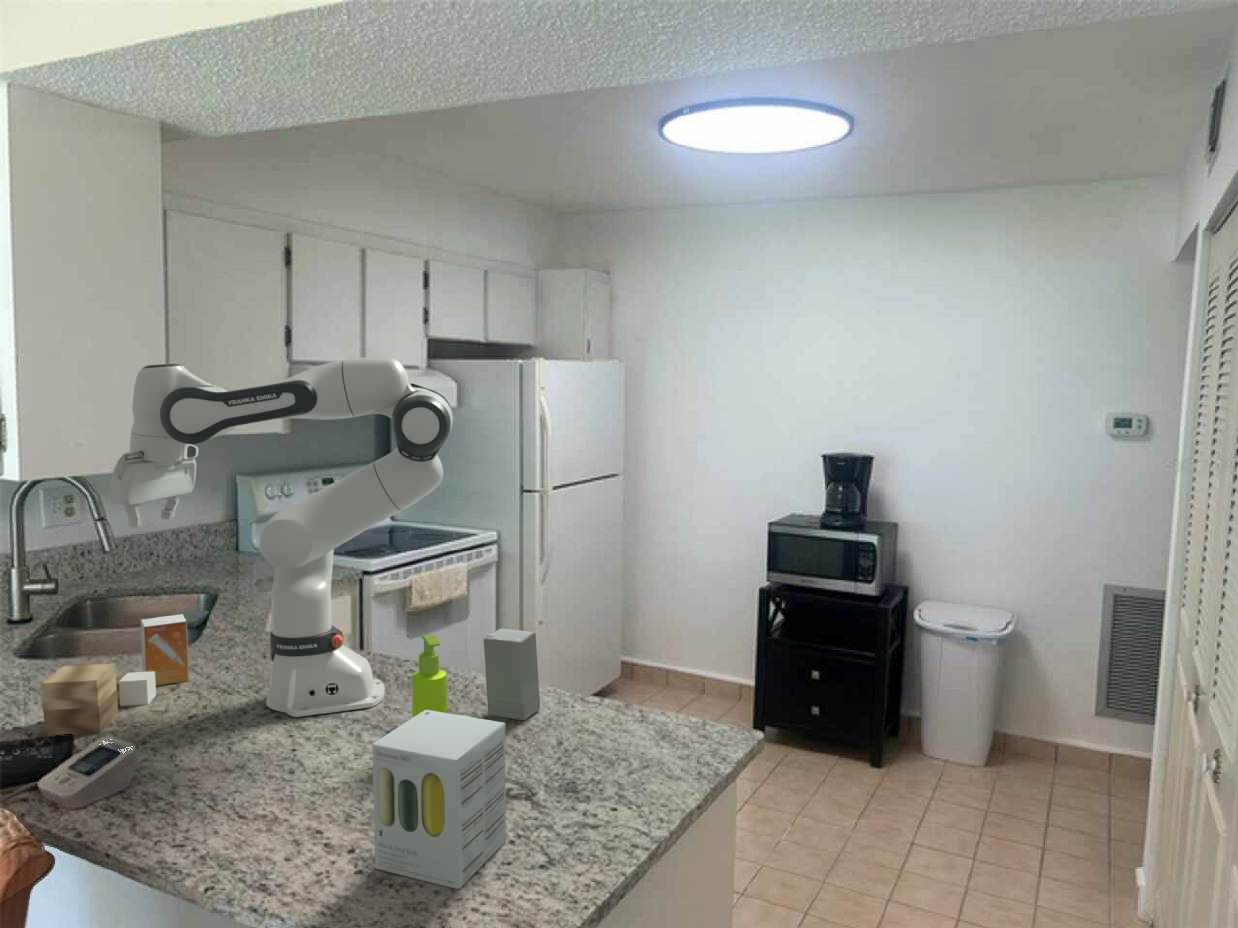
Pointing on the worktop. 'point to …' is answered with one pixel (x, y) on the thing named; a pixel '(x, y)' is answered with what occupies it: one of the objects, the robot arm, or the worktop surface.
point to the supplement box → (439, 797)
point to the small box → (165, 648)
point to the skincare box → (511, 674)
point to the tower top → (78, 687)
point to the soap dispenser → (429, 680)
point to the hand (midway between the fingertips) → (152, 522)
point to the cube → (137, 688)
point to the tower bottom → (81, 718)
